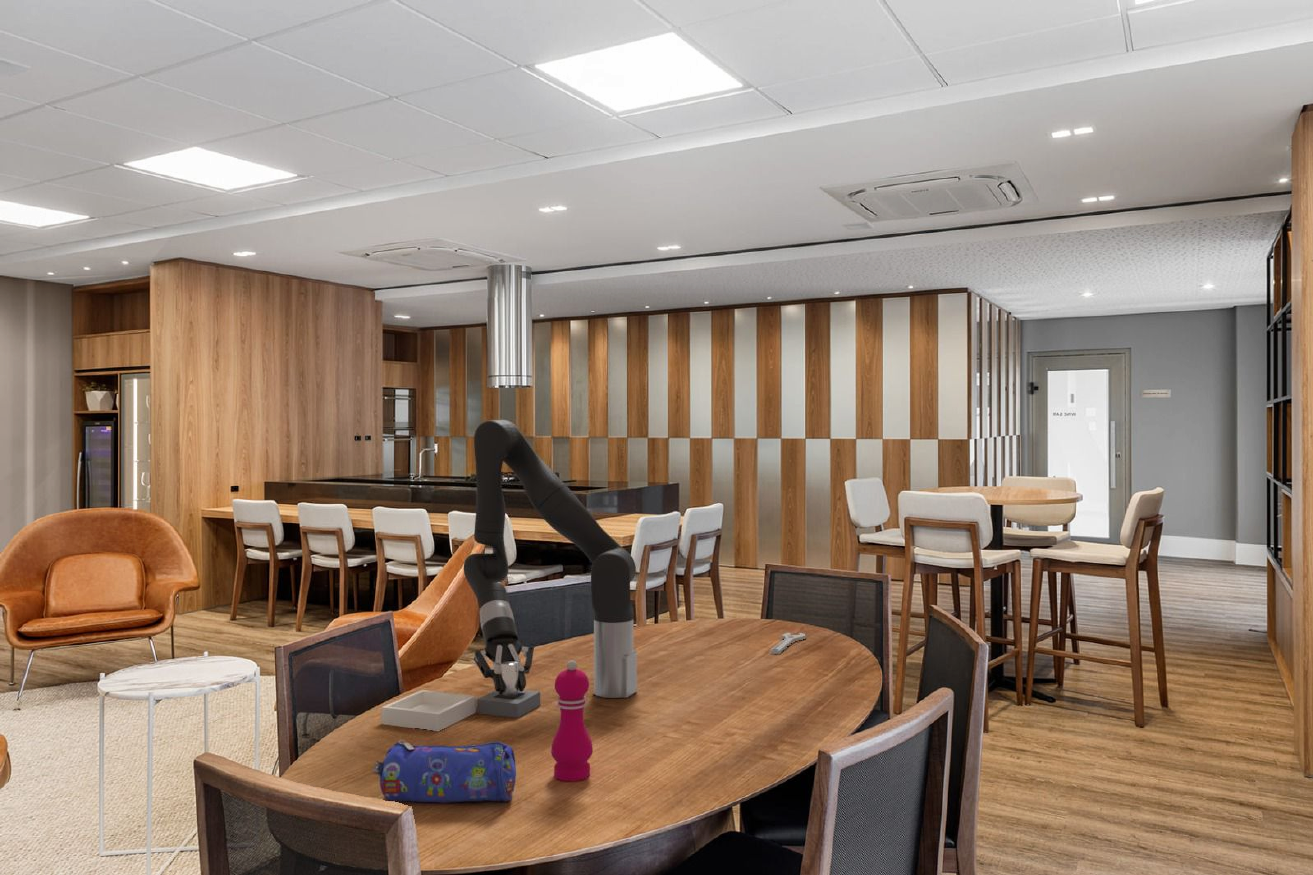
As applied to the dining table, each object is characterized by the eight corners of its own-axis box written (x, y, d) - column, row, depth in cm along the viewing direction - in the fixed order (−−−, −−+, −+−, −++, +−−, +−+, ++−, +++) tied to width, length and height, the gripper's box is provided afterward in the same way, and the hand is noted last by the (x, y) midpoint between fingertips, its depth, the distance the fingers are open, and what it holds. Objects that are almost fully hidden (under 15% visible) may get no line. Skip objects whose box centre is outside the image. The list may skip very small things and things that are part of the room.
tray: (476, 712, 193) (476, 696, 193) (438, 731, 180) (438, 714, 180) (422, 705, 198) (422, 690, 198) (381, 724, 185) (381, 707, 185)
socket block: (540, 705, 198) (540, 691, 198) (517, 718, 188) (517, 703, 188) (501, 700, 201) (501, 687, 201) (477, 713, 192) (477, 699, 192)
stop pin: (522, 707, 196) (521, 662, 196) (512, 712, 192) (512, 666, 192) (506, 705, 198) (506, 660, 198) (496, 710, 194) (496, 664, 194)
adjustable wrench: (778, 657, 245) (778, 650, 245) (756, 654, 248) (756, 648, 248) (807, 639, 267) (807, 633, 267) (787, 637, 270) (787, 631, 270)
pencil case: (372, 809, 141) (372, 749, 142) (390, 789, 150) (390, 732, 150) (510, 810, 141) (509, 750, 141) (520, 790, 149) (519, 732, 149)
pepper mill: (552, 768, 159) (551, 656, 159) (592, 767, 159) (592, 655, 160) (550, 783, 152) (550, 666, 152) (593, 782, 152) (592, 665, 152)
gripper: (469, 617, 199) (482, 685, 188) (531, 612, 205) (547, 677, 194) (464, 637, 204) (476, 703, 193) (525, 631, 210) (540, 696, 198)
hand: (511, 690), depth 193 cm, fingers closed on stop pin, 4 cm apart
